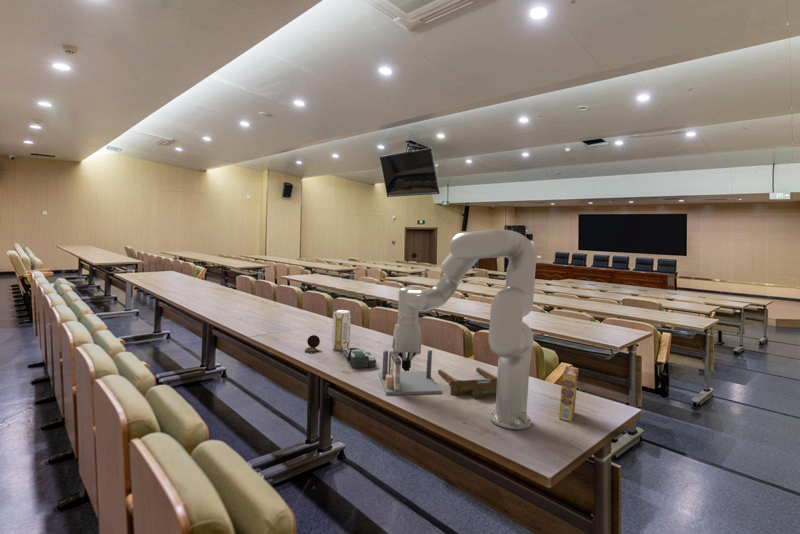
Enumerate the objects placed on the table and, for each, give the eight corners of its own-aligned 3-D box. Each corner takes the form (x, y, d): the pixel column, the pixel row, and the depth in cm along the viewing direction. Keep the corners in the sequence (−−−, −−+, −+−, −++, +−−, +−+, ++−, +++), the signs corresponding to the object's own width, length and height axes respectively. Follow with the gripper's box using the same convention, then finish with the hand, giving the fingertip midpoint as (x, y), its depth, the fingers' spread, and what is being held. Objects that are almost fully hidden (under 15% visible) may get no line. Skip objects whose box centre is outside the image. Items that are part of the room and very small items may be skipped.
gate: (388, 376, 159) (389, 350, 159) (393, 376, 160) (394, 349, 159) (394, 390, 145) (395, 361, 144) (400, 390, 145) (401, 361, 145)
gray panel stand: (441, 393, 148) (443, 361, 147) (386, 394, 144) (387, 361, 143) (426, 373, 169) (428, 345, 169) (378, 374, 166) (379, 345, 165)
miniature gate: (487, 363, 176) (526, 382, 147) (487, 376, 176) (526, 397, 147) (429, 366, 169) (458, 386, 140) (429, 379, 169) (458, 402, 140)
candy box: (572, 422, 128) (576, 375, 127) (558, 419, 130) (561, 372, 129) (575, 412, 136) (578, 368, 135) (561, 409, 138) (564, 365, 137)
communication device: (365, 353, 198) (365, 335, 197) (377, 368, 175) (378, 348, 174) (340, 354, 194) (341, 336, 193) (349, 369, 171) (350, 349, 171)
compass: (303, 353, 192) (303, 338, 192) (307, 348, 200) (308, 334, 200) (319, 354, 192) (320, 338, 191) (323, 349, 200) (324, 335, 199)
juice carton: (350, 347, 206) (351, 310, 205) (345, 351, 198) (346, 313, 196) (336, 345, 207) (337, 309, 206) (330, 350, 199) (331, 312, 198)
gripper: (423, 318, 154) (421, 366, 156) (385, 319, 150) (384, 368, 151) (430, 322, 147) (428, 372, 148) (391, 323, 143) (389, 374, 144)
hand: (406, 369), depth 150 cm, fingers closed
